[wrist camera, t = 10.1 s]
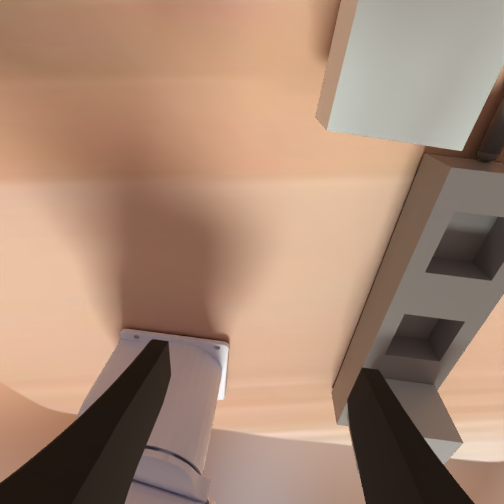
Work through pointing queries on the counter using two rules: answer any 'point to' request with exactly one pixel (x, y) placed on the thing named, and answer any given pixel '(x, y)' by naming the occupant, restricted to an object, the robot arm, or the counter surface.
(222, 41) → the counter surface
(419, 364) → the power strip
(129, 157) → the counter surface
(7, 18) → the counter surface
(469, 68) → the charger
